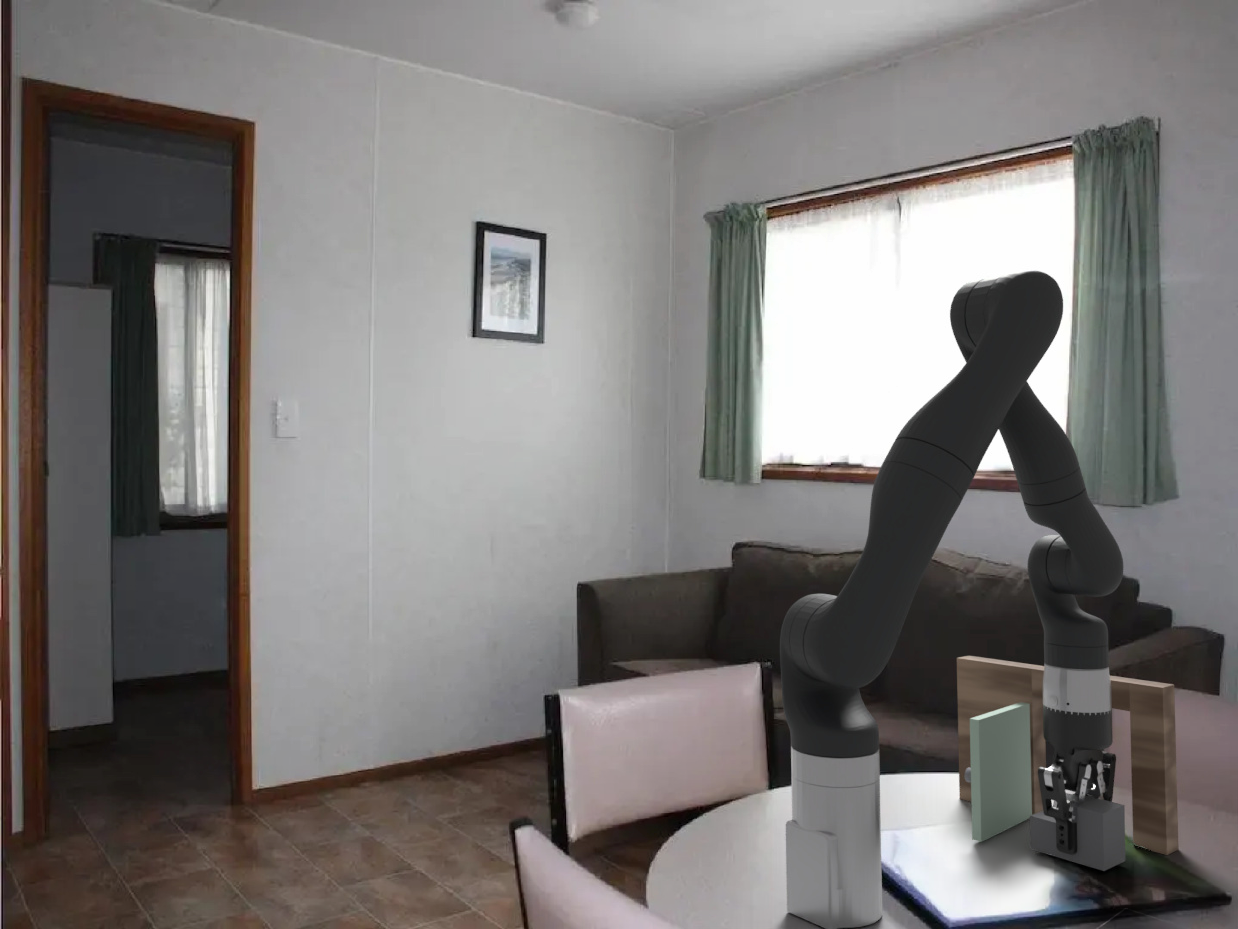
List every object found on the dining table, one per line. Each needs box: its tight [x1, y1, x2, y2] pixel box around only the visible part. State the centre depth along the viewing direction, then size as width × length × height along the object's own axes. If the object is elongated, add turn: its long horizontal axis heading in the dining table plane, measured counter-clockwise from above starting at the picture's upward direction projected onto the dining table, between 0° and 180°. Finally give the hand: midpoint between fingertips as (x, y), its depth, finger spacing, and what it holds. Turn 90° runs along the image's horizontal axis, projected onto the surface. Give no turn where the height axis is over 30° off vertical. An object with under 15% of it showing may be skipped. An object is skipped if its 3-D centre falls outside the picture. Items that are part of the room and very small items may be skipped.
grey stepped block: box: [1029, 796, 1126, 872], centre depth 120 cm, size 5×9×6 cm, turn 37°
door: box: [965, 702, 1032, 843], centre depth 130 cm, size 2×14×15 cm, turn 132°
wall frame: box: [956, 655, 1179, 856], centre depth 133 cm, size 3×28×20 cm, turn 37°
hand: (1079, 846), depth 120 cm, fingers closed on grey stepped block, 5 cm apart
